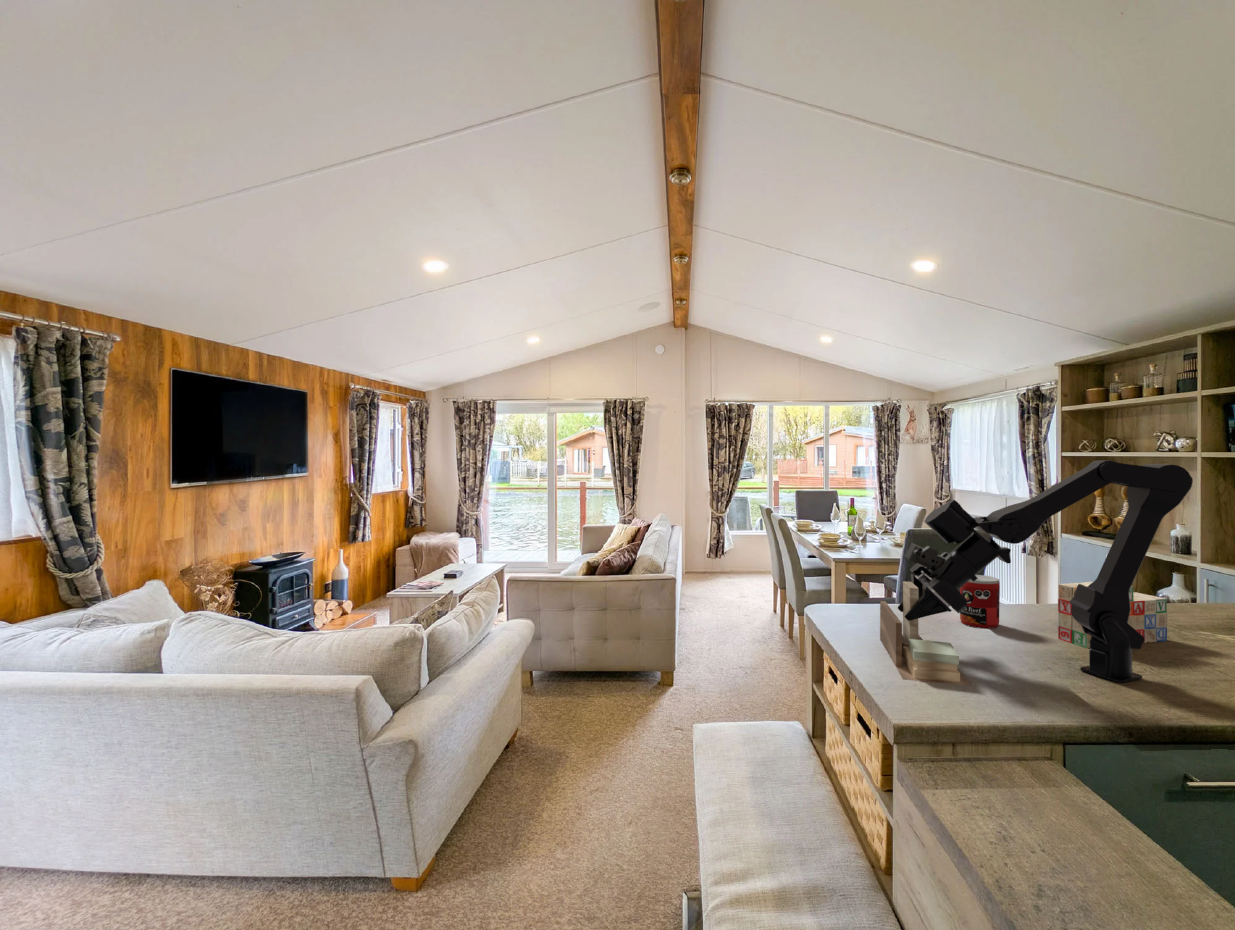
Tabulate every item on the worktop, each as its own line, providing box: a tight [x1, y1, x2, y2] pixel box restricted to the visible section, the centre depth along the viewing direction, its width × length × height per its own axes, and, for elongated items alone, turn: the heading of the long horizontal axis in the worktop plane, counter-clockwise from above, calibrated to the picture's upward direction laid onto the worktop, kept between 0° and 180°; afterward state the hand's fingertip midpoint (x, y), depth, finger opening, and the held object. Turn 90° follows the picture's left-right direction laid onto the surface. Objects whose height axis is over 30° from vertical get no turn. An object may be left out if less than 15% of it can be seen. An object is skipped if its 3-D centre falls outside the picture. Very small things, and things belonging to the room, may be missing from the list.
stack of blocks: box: [1057, 581, 1168, 649], centre depth 123 cm, size 21×6×12 cm, turn 101°
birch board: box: [902, 581, 919, 643], centre depth 112 cm, size 2×6×13 cm, turn 165°
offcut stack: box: [902, 639, 960, 682], centre depth 101 cm, size 8×8×4 cm
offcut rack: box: [879, 600, 972, 687], centre depth 107 cm, size 10×22×10 cm, turn 165°
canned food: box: [959, 574, 1001, 629], centre depth 135 cm, size 8×8×11 cm
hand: (902, 614), depth 112 cm, fingers closed on birch board, 6 cm apart
